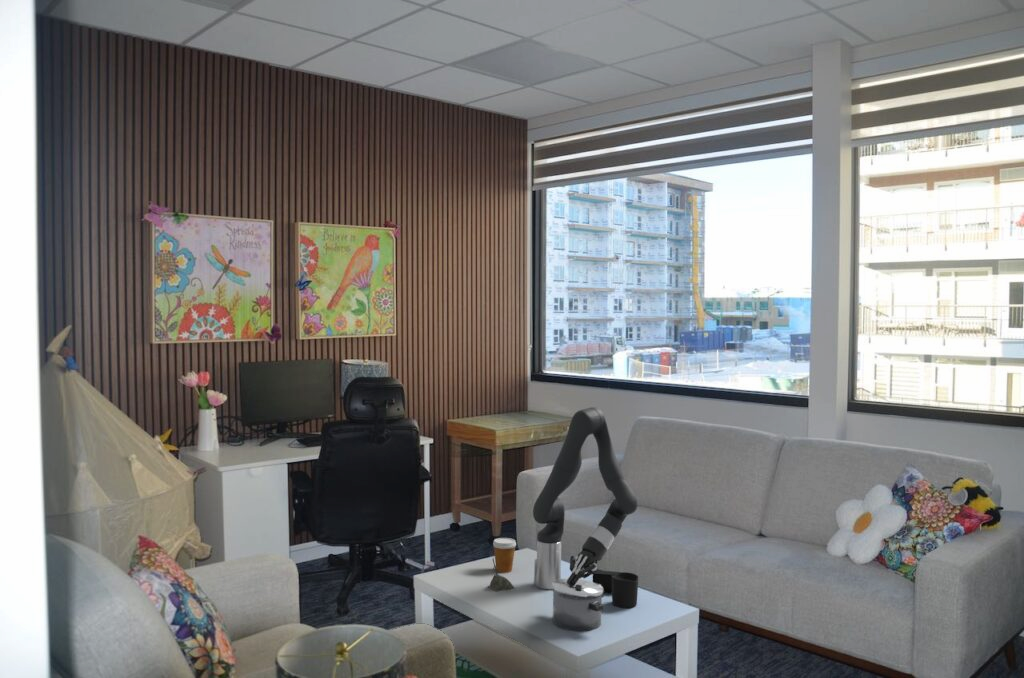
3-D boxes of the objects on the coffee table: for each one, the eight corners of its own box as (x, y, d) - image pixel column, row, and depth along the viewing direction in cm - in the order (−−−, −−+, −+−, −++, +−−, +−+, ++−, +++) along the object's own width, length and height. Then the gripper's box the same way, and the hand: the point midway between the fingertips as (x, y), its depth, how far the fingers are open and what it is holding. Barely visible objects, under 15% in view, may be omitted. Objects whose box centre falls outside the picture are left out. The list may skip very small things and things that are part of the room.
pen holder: (640, 608, 275) (641, 580, 275) (614, 608, 274) (614, 580, 274) (634, 599, 284) (635, 572, 284) (608, 599, 284) (609, 572, 284)
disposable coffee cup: (507, 575, 310) (507, 545, 310) (487, 571, 315) (488, 541, 315) (520, 569, 318) (520, 540, 318) (500, 565, 323) (501, 536, 323)
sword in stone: (506, 583, 301) (508, 552, 301) (516, 590, 294) (518, 558, 294) (483, 586, 296) (484, 555, 296) (493, 593, 289) (494, 561, 289)
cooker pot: (577, 606, 276) (577, 578, 276) (621, 627, 257) (622, 597, 257) (537, 615, 266) (537, 586, 266) (580, 638, 247) (580, 606, 247)
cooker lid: (582, 580, 273) (583, 572, 273) (615, 594, 259) (616, 585, 259) (541, 584, 263) (542, 575, 263) (573, 599, 249) (574, 590, 249)
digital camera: (621, 589, 296) (621, 570, 296) (620, 594, 291) (620, 575, 291) (593, 587, 298) (593, 568, 298) (592, 591, 292) (592, 573, 292)
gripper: (580, 531, 270) (550, 573, 263) (605, 540, 259) (575, 583, 252) (591, 545, 273) (563, 586, 266) (617, 554, 262) (588, 597, 255)
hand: (569, 584), depth 259 cm, fingers closed
